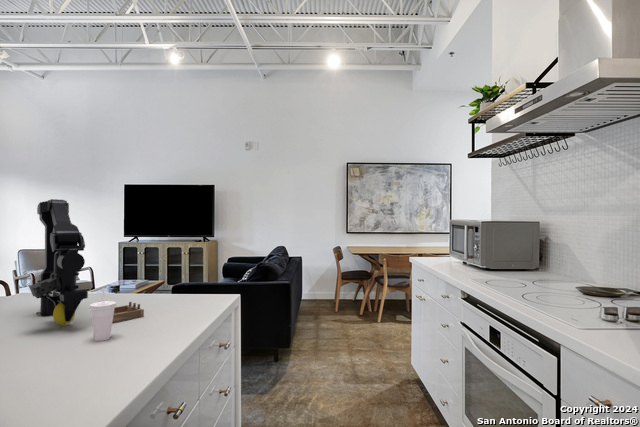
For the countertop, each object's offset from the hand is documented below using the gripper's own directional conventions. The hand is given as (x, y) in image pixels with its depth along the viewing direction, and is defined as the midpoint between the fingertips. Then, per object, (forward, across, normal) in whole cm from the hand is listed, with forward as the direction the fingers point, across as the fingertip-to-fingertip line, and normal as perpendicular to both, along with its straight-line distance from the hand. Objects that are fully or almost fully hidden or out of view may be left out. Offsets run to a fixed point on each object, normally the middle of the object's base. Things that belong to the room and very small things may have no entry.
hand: (64, 319), depth 109 cm
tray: (+2, +3, +15) cm, 15 cm away
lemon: (+2, 0, 0) cm, 2 cm away
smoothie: (+2, +22, +2) cm, 22 cm away
